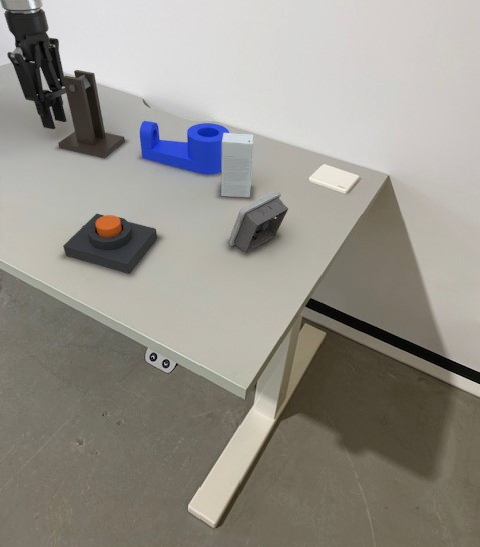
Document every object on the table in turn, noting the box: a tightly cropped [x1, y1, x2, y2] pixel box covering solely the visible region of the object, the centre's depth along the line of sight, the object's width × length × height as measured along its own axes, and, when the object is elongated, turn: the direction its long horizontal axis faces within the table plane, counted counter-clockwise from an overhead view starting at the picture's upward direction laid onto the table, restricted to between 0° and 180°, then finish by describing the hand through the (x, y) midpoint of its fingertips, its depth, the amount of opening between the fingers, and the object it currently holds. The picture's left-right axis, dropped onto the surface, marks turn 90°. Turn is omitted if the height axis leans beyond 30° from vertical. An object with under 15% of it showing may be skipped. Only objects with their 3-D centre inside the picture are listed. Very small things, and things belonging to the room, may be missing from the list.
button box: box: [62, 213, 158, 274], centre depth 72 cm, size 12×10×4 cm
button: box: [96, 214, 122, 237], centre depth 70 cm, size 4×4×2 cm
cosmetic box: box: [220, 132, 254, 199], centre depth 84 cm, size 6×4×12 cm
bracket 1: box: [57, 69, 126, 159], centre depth 94 cm, size 12×9×16 cm
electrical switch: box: [228, 190, 289, 254], centre depth 73 cm, size 9×5×9 cm, turn 133°
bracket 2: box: [139, 120, 230, 175], centre depth 94 cm, size 20×9×8 cm, turn 76°
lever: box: [43, 75, 91, 108], centre depth 93 cm, size 14×4×4 cm, turn 72°
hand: (55, 124), depth 99 cm, fingers closed on lever, 4 cm apart
